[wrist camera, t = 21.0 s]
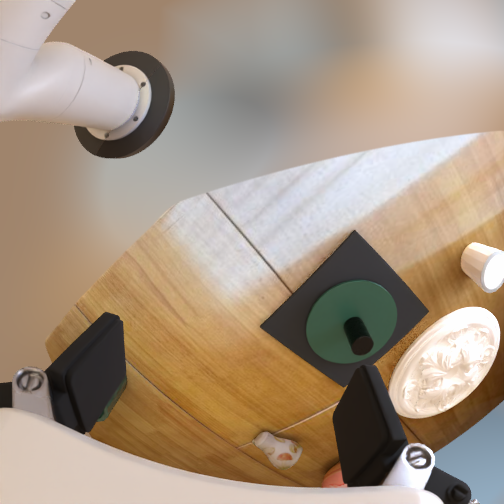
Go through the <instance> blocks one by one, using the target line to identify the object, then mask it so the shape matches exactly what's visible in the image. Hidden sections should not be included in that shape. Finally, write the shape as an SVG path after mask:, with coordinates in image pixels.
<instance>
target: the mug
mask: <svg viewBox="0 0 504 504" xmlns="http://www.w3.org/2000/svg"><path fill="white" fill-rule="evenodd" d="M252 442H253V444H254V445H255V446H257V447H258V448H260V449H261V450H262V451H263V452H264V453H265V454H266V456H267V457H268V459H269V460H270V462H271V463H272V464H273V465H274V466H275V467H276V468H278V469H281V470H286V469H288V468H290V467H291V466H293V465H294V464H295V463H296V462H297V461H298V459H299V457H300V455H301V453H302V450H303V448H302V447H301V446H300V445H299V444H298V443H297V442H295V441H292V440H288V439H283V438H278V437H275V436H273V435H272V434H270V433H269V432H262V433H260V434H259V435H258V436H257V437H256V439H253V441H252Z"/></svg>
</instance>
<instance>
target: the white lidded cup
mask: <svg viewBox="0 0 504 504" xmlns="http://www.w3.org/2000/svg"><path fill="white" fill-rule="evenodd" d="M461 268H462V270H463V271H464V273H465V274H467V275H468V276H469V277H470V278H471V279H472V280H473V281H474V282H475V283H476V284H478V285H479V286H480V287H481V288H482V289H483V290H484V291H485V292H488V293H492V292H495V291H496V290H497V289H499V288H500V287H501V285H502V284H503V282H504V252H503V251H501V250H498V249H495V248H492V247H488V246H485V245H482V244H479V243H471V244H469V245H468V246H467V247H466V248H465V250H464V251H463V254H462V257H461Z"/></svg>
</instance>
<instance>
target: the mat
mask: <svg viewBox="0 0 504 504" xmlns="http://www.w3.org/2000/svg"><path fill="white" fill-rule="evenodd" d="M351 280H368V281H372V282H375V283H377V284H379V285H381V286H382V287H384V288H385V289H386V290H387V291H388V292H389V293H390V295H391V296H392V297H393V299H394V301H395V304H396V308H397V322H396V326H395V329H394V331H393V333H392V335H391V337H390V339H389V340H388V341H387V343H386V344H385V345H384V346H383V347H382V348H381V349H380V350H379V351H378V352H376V353H375V354H373V355H372V356H370V357H368V358H366V359H364V360H361V361H358V362H354V363H345V364H342V363H334V362H330V361H327V360H325V359H323V358H321V357H320V356H319V355H317V354H316V353H315V352H314V351H313V349H312V348H311V346H310V345H309V342H308V340H307V335H306V321H307V317H308V314H309V312H310V310H311V308H312V306H313V305H314V303H315V302H316V301H317V299H318V298H319V297H320V296H321V295H322V294H324V293H325V292H326V291H327V290H329V289H330V288H332V287H334V286H336V285H338V284H340V283H343V282H346V281H351ZM428 312H429V311H428V310H427V308H426V307H425V306H424V305H423V304H422V302H421V301H420V300H419V299H418V298H417V297H416V295H415V294H414V293H413V292H412V291H411V290H410V288H409V287H408V286H407V285H406V284H405V283H404V282H403V281H402V279H401V278H400V277H399V276H398V275H397V274H396V273H395V272H394V271H393V269H392V268H391V267H390V266H389V265H388V264H387V263H386V262H385V261H384V260H383V259H382V258H381V256H380V255H379V254H378V253H377V252H376V251H375V250H374V249H373V248H372V247H371V246H370V245H369V244H368V243H367V242H366V241H365V240H364V239H363V238H362V237H361V236H360V235H359V234H358V233H357V232H356V231H355V230H354V231H353V232H352V233H351V235H350V236H349V237H348V238H347V239H346V240H345V241H344V242H343V243H342V244H341V245H340V246H339V247H338V248H337V250H336V251H335V252H334V253H333V254H332V255H331V256H330V257H329V258H328V259H327V260H326V261H325V262H324V263H323V264H322V265H321V266H320V267H319V268H318V269H317V270H316V271H315V272H314V273H313V274H312V275H311V276H310V277H309V279H308V280H307V281H306V282H305V283H304V284H303V285H302V286H301V287H300V288H299V289H298V290H297V291H296V292H295V293H294V294H293V295H292V296H291V297H290V298H289V299H287V300H286V301H285V302H284V303H283V304H282V305H281V306H280V307H279V308H278V309H277V310H276V311H275V312H274V313H273V314H272V315H271V316H270V317H269V318H268V319H267V320H266V321H265V322H264V323H263V324H262V325H261V326H260V327H261V328H262V329H263V330H265V331H266V332H267V333H268V334H270V335H271V336H272V337H274V338H275V339H276V340H278V341H279V342H281V343H282V344H283V345H285V346H286V347H287V348H289V349H290V350H291V351H293V352H294V353H295V354H297V355H298V356H300V357H301V358H302V359H304V360H305V361H307V362H308V363H309V364H311V365H312V366H314V367H315V368H316V369H318V370H319V371H321V372H322V373H323V374H325V375H326V376H328V377H329V378H331V379H332V380H334V381H335V382H336V383H338V384H339V385H341V386H342V387H345V386H347V385H348V384H349V382H350V380H351V378H352V376H353V374H354V372H355V370H356V368H360V366H361V365H373V364H374V363H375V362H376V361H377V360H379V359H380V358H381V357H382V356H383V355H384V354H386V353H387V352H388V351H389V350H390V349H391V348H392V347H393V346H394V345H396V344H397V343H398V342H399V341H400V340H401V339H402V338H403V337H404V336H405V335H406V334H407V333H408V332H409V331H410V330H411V329H412V328H413V327H414V326H415V325H416V324H417V323H418V322H419V321H420V320H421V319H422V318H423V317H424V316H425V315H426V314H427V313H428Z"/></svg>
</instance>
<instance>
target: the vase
mask: <svg viewBox="0 0 504 504" xmlns="http://www.w3.org/2000/svg"><path fill="white" fill-rule="evenodd" d="M322 488H347V484H344V482H343V478H342V472H341V465H340V462H338V463H337V464H335V465H334V466H333V467H332V468H331V469H329V470H328V472H327V473H326V474H325V476H324V478H323V481H322Z"/></svg>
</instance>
